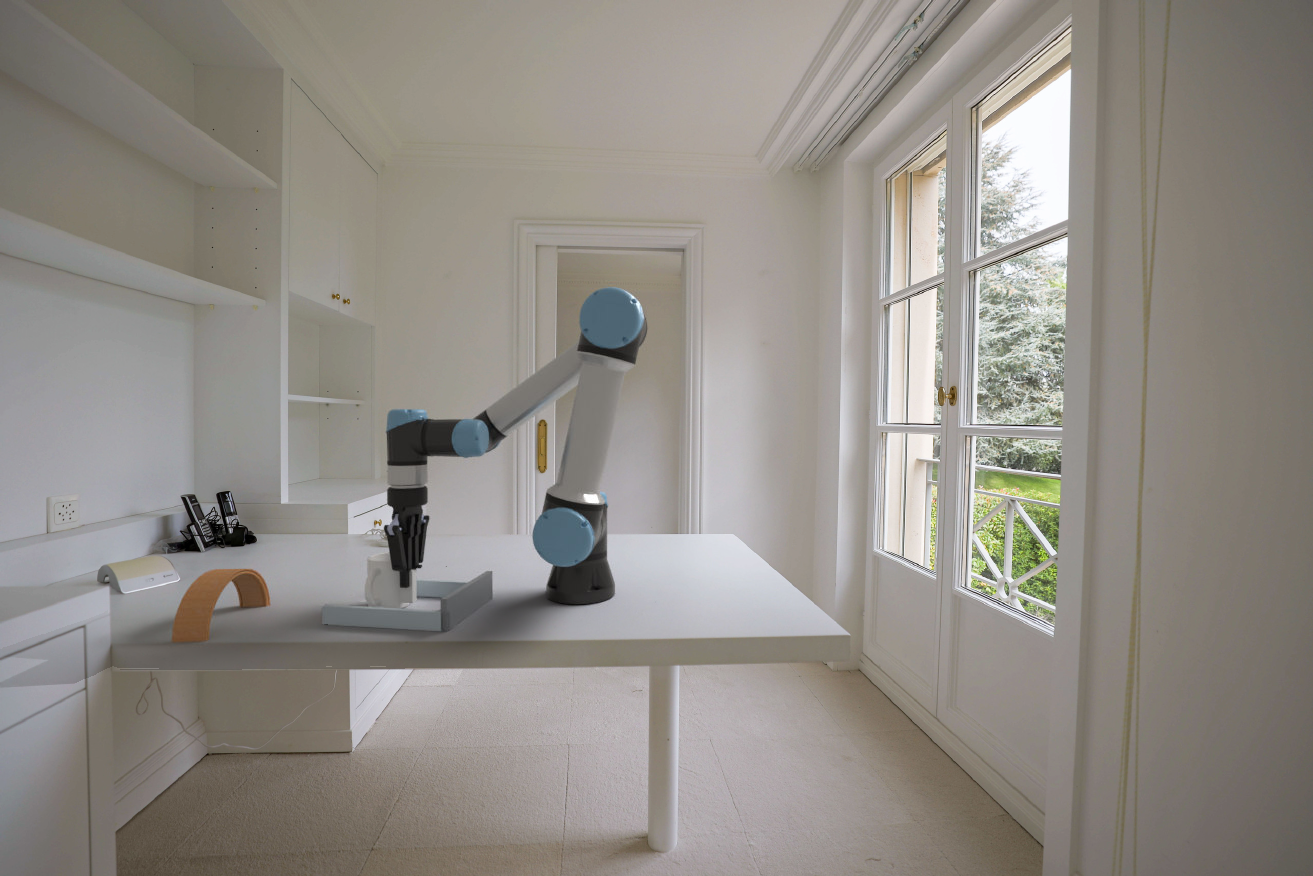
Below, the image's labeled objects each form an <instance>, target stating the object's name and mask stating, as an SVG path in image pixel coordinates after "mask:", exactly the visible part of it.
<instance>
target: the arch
mask: <svg viewBox="0 0 1313 876" xmlns="http://www.w3.org/2000/svg"><path fill="white" fill-rule="evenodd" d="M230 582H232V583H233V585H234V588H235V589H236V592H237V593H236V594H237V596H238V603H239V608H254V607H255V608H256V607H257V608H258V607H259V608H260V607H261V608H262V607H269V606H271V597H270V592H269V588H268V584H267V583H266V580H265V578H264V576H262V575H261V573H260V572H258V571H257V570H254V569H253V568H217V569H216V568H215V569H210V570H208V571H205V572H203V573H202V574H200V575H199V576H198V577H197V578H196V579H195V580H194V581H193V582H192V583H191V584H190V585H189V587H188V588H187V590H186V591H185V593H184V595H183V597H182V598H181V601H180V603H179V605H178V607H177V610H176V613H175V616H174V620H173V625H172V633H171V634H172V635H171V642H172V643H180V642H182V643H186V642H187V643H188V642H208V641H209V640H210V631H211V629H210V627H211V623H212V618H213V613H214V611H215V608H216V605H217V603H218V600H219V598H220V596H221V595H222V593H223V591H224V590H225V588H226V587H227V586H228V585H229V583H230Z"/></svg>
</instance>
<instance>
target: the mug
mask: <svg viewBox="0 0 1313 876" xmlns="http://www.w3.org/2000/svg"><path fill="white" fill-rule="evenodd" d="M366 561H367V563H366V565H367V569H366V570H367V576H366V579H365V582H364V583H365V584H364V596H365V600H366V602H367V607H384V608H402V609H405V608H406V607H408V606H409V605H410V604H411V603H400V573H399V571H394V570H392V565H391V559H390V552H389V551H388V552H381V553H376V554H373V555H372V554H371V555H370V556H368V557H367V558H366Z"/></svg>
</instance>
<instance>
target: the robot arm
mask: <svg viewBox="0 0 1313 876" xmlns="http://www.w3.org/2000/svg"><path fill="white" fill-rule="evenodd" d="M578 321H579V322H578V323H579V327H580V333H579V335H578V339H577V342H575V343H573V344H572V345H571V346H570V347H569V348H567V349H565V350H564V351H563V352H562V353H560V354H559V355H557V356H556V357H555V358H553V359H552V360H551V361H549V362H548V363H547V364H545V365H544V366H543V367H541V368H540V369H539V370H537V371H535V372H534V373H533V374H532V375H530V376H529V377H528V378H526V379H525V380H523V381H522V382H520V383H519V384H517V386H515V387H514V388H513V389H511V390H510V391H508V392H507V393H506V394H504V395H503V396H502V397H501V398H499V399H498V400H496V401H494V403H492V404H491V405H490V406H488V407H487V408H486V409H484V410H483V411H481V412H480V413H478V414H477V415H476V416H475V417H473V418H463V419H461V418H457V419H456V418H450V419H449V418H446V419H444V418H443V419H441V418H439V419H434V418H429V416H428V411H426V409H423V408H422V409H419V408H418V409H416V408H413V409H412V408H403V409H402V408H393V409H391V410H389V411H388V413H387V416H386V417H387V418H386V430H385V434H386V453H387V454H386V456H387V457H386V458H387V460H386V463H387V464H386V465H387V467H386V468H387V469H386V473H387V476H386V478H387V479H386V482H387V483H386V484H387V485H388V486H389V487H388V488H387V489H386V501H387V503H386V504H387V506H389V508H390V507H391V508H392V515H391V522H390V524H384V526H383V531H384V533H385V535H386V539H387V545H388V550H389V551H388V552H390V559H391V565H392V570H394V571H399V573H400V603H410V604H414V603H416V602H417V597H418V596H417V579H418V578H417V569H422V568H423V564H422V563H423V562H424V558H425V557H424V556H425V548H426V539H427V538H426V537H427V533H428V532H427V531H428V525H429V522H430V519H431V518H430V515H427V514H426V515H425V514H424V510H423V506H426V505H427V504H428V501H429V500H428V499H429V495H428V491H429V489H428V486H427V485H426V484H428V482H429V480H428V478H429V476H428V474H429V473H428V457H431V458H432V457H444V458H446V457H449V458H450V457H451V458H454V457H455V458H464V459H467V458H475V457H476V458H477V457H478V458H480V457H483V456H484V455H485V454H487V453H490V452H491V451H493V450H495V449H497V448H498V447H499V446H500V444H501V443H502V441H503V440H504V439H506V438H507V437H508V436H510V434H512V433H513V432H515V431H516V430H518V429H519V428H520V427H522V426H523V425H525V424H526V423H527V422H529V421H530V420H531V419H532V418H534V417H535V416H537V415H538V414H540V413H541V412H543V411H544V410H545V409H547V408H548V407H549V406H551V405H552V404H554V403H555V402H556V401H558V400H559V399H560V398H562V397H563V396H565V395H566V394H568V393H569V392H570V391H572V390H573V389H574V388H576V391H575V396H574V400H573V405H572V409H571V410H572V411H571V413H570V415H571V416H570V418H569V419H570V420H569V423H568V428H567V433H566V437H565V441H564V447H563V451H562V455H561V461H560V465H559V469H558V475H557V479H556V482H555V484H553V485H552V486H549V487H548V488H547V490H546V493H545V497H544V502H543V505H542V506H543V507H542V511H541V514H540V515H539V517H538V518H537V520H535V523H534V525H533V529H532V535H531V536H532V543H533V547H534V549H535V550H536V552H537V554H538V555H539V557H541V559H542V560H543V561H545V562H547V563H548V564H550V565H552V567H551V570H550V573H549V577H548V579H547V583H546V585H545V586H546V589H545V591H546V598H547V599H549V600H550V601H553V602H555V603H560V604H569V605H586V604H596V603H600V602H604V601H607V600H609V599H611V598H613V597H615V594H616V584H615V582H616V581H615V579H614V576H613V573H612V570H611V567H610V564H609V561H608V507H609V503H608V496H607V494H606V493H605V492H604V491H600V490H601V485H602V482H603V481H602V480H603V477H604V473H605V467H606V463H607V460H608V459H607V458H608V453H609V450H610V449H609V448H610V446H611V445H610V444H611V440H612V436H613V430H614V428H615V427H614V426H615V421H616V417H617V413H618V409H619V408H618V407H619V405H620V404H619V403H620V398H621V394H622V390H623V385H624V382H625V377H626V374H627V373H628V372H629V371H630V370H632V369H633V368H635V366H636V362H637V359H638V353H639V350H640V348H641V346H642V345H643V344H644V342H645V339H646V337H647V334H648V321H647V317H646V316H645V313H644V311H643V307H642V305H641V303H640V301H639V300H638V299H637V298H636V297H635V296H634V295H633V294H632V293H630V292H628V291H627V290H625V289H624V288H623V289H622V288H620V287H614V286H608V287H607V286H606V287H602V288H600V289H597V290H595V291H594V292H592V293H590V294H589V295H588V296H587V297H586V298H585V300H584V301H583V302H582V306H581V307H580V311H579V320H578Z"/></svg>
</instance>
